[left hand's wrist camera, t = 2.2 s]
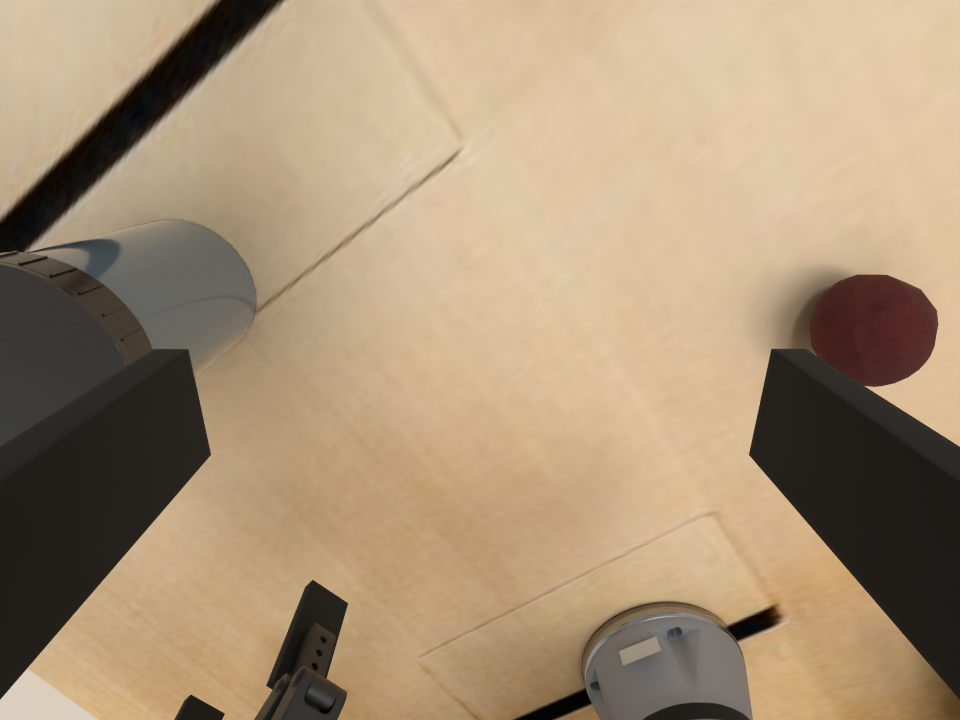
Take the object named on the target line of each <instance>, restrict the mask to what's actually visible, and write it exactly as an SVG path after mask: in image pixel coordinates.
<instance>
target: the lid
mask: <svg viewBox="0 0 960 720" xmlns="http://www.w3.org/2000/svg"><path fill="white" fill-rule="evenodd" d="M152 350H153V348H152V346H151V343H150V341H149V339H148V337H147V335H146V333H145V331H144V329H143V327H142V326H141V324H140V323H139V321H138V320H137V318H136V317H135V315H134V314H133V313H132V312H131V310H130V309H129V308H128V307H127V306H126V304H125V303H124V302H123V301H122V300H121V299H120V298H119V297H118V296H116V295H115V294H114V293H113V292H112V291H111V290H110V289H109V288H107V287H106V286H105V285H104V284H103V283H101V282H100V281H98V280H97V279H95V278H93V277H92V276H90V275H89V274H87V273H86V272H84V271H82V270H80V269H78V268H77V267H74V266H72V265H70V264H67V263H64V262H62V261H59V260H56V259H54V258H50V257H48V256H46V255H45V256H41V255H37V254H30V253H22V252H18V251H14V252H6V253H0V447H1V446H2V445H4V444H6V443H7V442H9V441H10V440H12V439H13V438H15V437H17V436H18V435H20V434H21V433H23V432H24V431H26V430H28V429H29V428H31V427H32V426H34V425H35V424H37V423H39V422H40V421H42V420H43V419H45V418H46V417H48V416H50V415H51V414H53V413H54V412H56V411H58V410H59V409H61V408H62V407H64V406H65V405H67V404H69V403H70V402H72V401H73V400H75V399H76V398H78V397H80V396H81V395H83V394H84V393H86V392H87V391H89V390H91V389H92V388H94V387H95V386H97V385H98V384H100V383H102V382H103V381H105V380H106V379H108V378H110V377H111V376H113V375H114V374H116V373H117V372H119V371H121V370H122V369H124V368H125V367H127V366H128V365H130V364H132V363H133V362H135V361H136V360H138V359H139V358H141V357H143V356H144V355H146V354H147V353H149V352H150V351H152Z"/></svg>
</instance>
